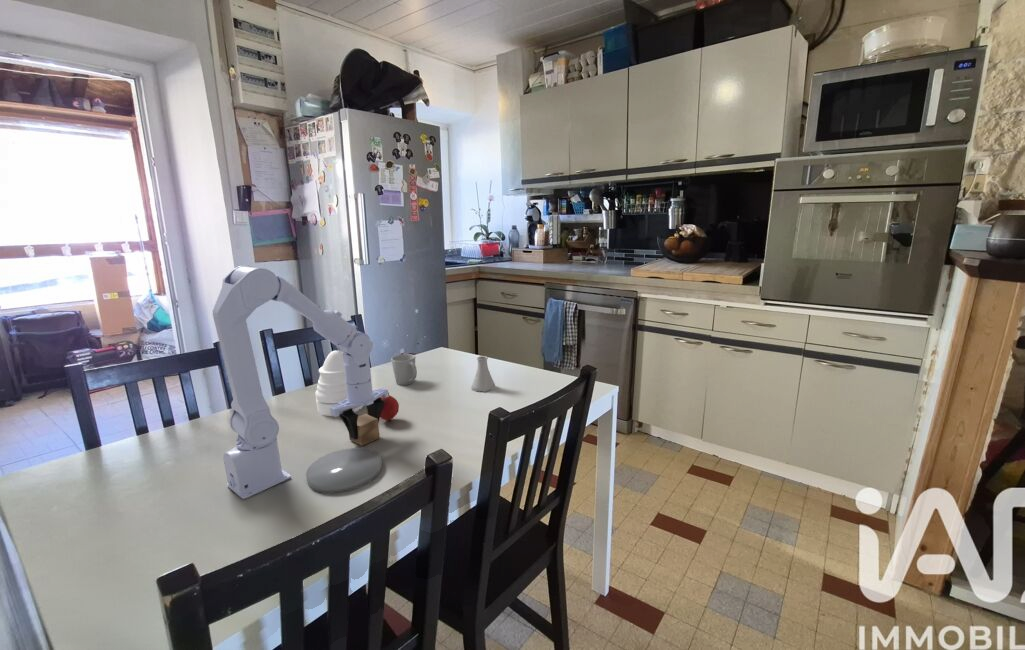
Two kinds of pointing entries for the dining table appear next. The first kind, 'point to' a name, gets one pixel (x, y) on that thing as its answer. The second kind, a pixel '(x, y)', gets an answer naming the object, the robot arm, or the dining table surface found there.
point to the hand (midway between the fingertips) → (364, 433)
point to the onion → (389, 408)
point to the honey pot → (331, 384)
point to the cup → (404, 368)
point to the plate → (343, 470)
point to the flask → (483, 376)
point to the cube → (366, 429)
